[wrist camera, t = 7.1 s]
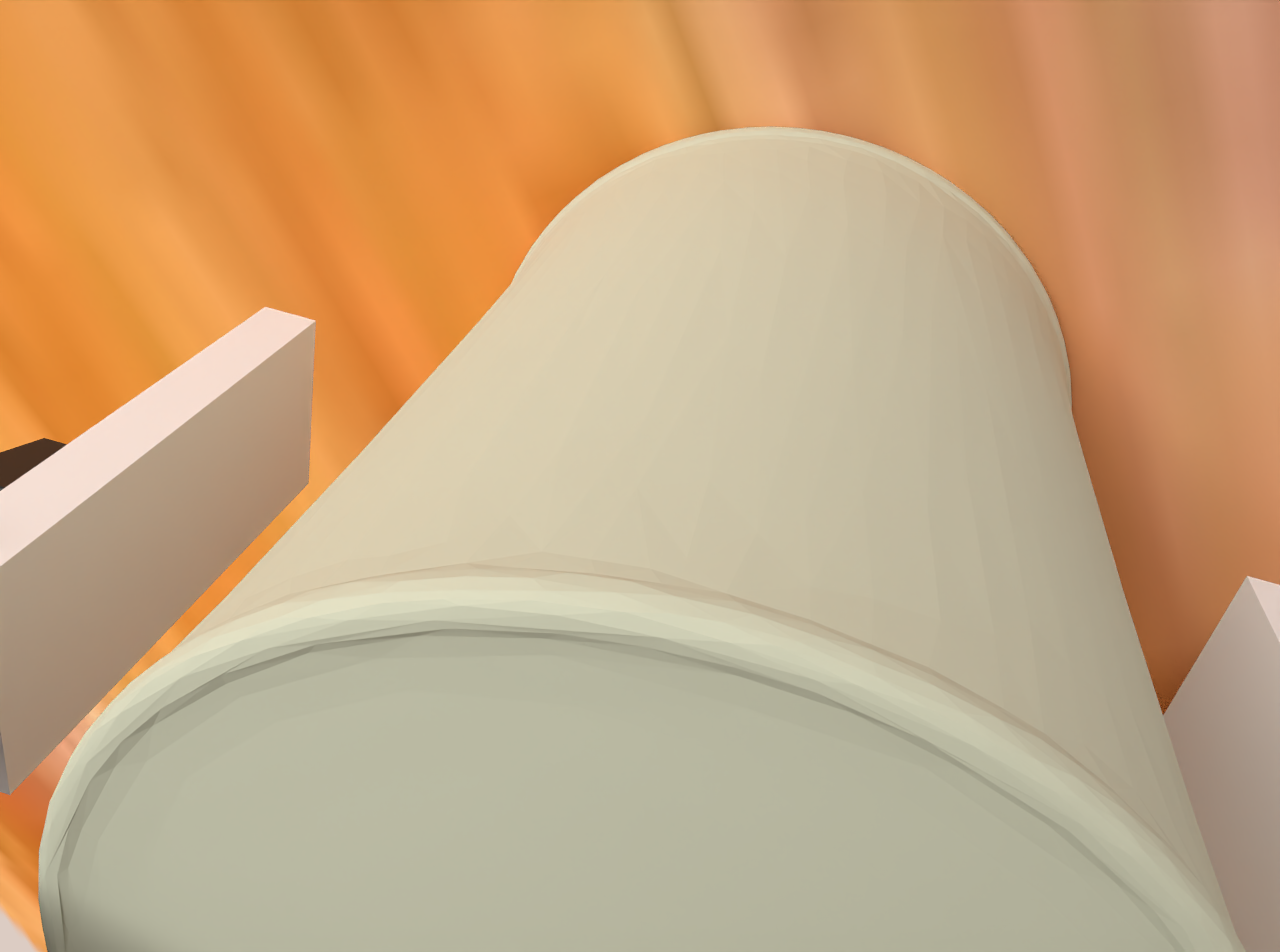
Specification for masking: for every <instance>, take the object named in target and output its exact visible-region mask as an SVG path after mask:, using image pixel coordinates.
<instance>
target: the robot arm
mask: <svg viewBox="0 0 1280 952" xmlns="http://www.w3.org/2000/svg"><path fill="white" fill-rule="evenodd" d="M315 327H316V321H315V320H311V319H308V318H304V317H300V316H297V315H293V314H289V313H286V312H282V311H278V310H275V309H271V308H268V307H264V308H263V309H261V310H260V311H259V312H257V313H256V314H254V315H253V316H251V317H250V318H249V319H247V320H246V321H244V322H243V323H241V324H240V325H238V326H237V327H236V328H234V329H233V330H231V331H230V332H228V333H227V334H225V335H224V336H223V337H221V338H220V339H218V340H217V341H215V342H214V343H213V344H211V345H210V346H208V347H207V348H205V349H204V350H202V351H201V352H200V353H198V354H197V355H195V356H194V357H192V358H191V359H190V360H188V361H187V362H185V363H184V364H182V365H181V366H179V367H178V368H177V369H175V370H174V371H172V372H171V373H169V374H168V375H167V376H165V377H164V378H162V379H161V380H159V381H158V382H156V383H155V384H154V385H152V386H151V387H149V388H148V389H146V390H145V391H144V392H142V393H141V394H139V395H138V396H136V397H135V398H133V399H132V400H131V401H129V402H128V403H126V404H125V405H123V406H122V407H121V408H119V409H118V410H116V411H115V412H113V413H112V414H110V415H109V416H108V417H106V418H105V419H103V420H102V421H100V422H99V423H97V424H96V425H95V426H93V427H92V428H90V429H89V430H87V431H86V432H85V433H83V434H82V435H80V436H79V437H77V438H76V439H74V440H73V441H72V442H70V443H69V444H63V443H60V442H56V441H53V440H49V439H46V438H43V439H40V440H37V441H34V442H31V443H28V444H25V445H22V446H19V447H16V448H13V449H10V450H7V451H4V452H1V453H0V792H3V793H6V794H9V795H10V794H11V793H12V792H13V791H14V790H15V789H16V788H17V787H18V786H19V785H20V784H21V783H22V782H23V781H24V780H25V779H26V778H27V777H28V776H29V775H30V774H31V773H32V771H33V770H34V769H35V768H36V767H37V766H38V765H39V764H40V763H41V762H42V761H43V760H44V759H45V758H46V757H47V756H48V755H49V754H50V753H51V752H52V751H53V750H54V748H55V747H56V746H57V745H58V744H59V743H60V742H61V741H62V740H63V739H64V738H65V737H66V736H67V735H68V734H69V733H70V732H71V731H72V730H73V729H74V728H75V727H76V726H77V724H78V723H79V722H80V721H81V720H82V719H83V718H84V717H85V716H86V715H87V714H88V713H89V712H90V711H91V710H92V709H93V708H94V707H95V706H96V705H97V704H98V703H99V702H100V700H101V699H102V698H103V697H104V696H105V695H106V694H107V693H108V692H109V691H110V690H111V689H112V688H113V687H114V686H115V685H116V684H117V683H118V682H119V681H120V680H121V679H122V677H123V676H124V675H125V674H126V673H127V672H128V671H129V670H130V669H131V668H132V667H133V666H134V665H135V664H136V663H137V662H138V661H139V660H140V659H141V658H142V657H143V656H144V655H145V653H146V652H147V651H148V650H149V649H150V648H151V647H152V646H153V645H154V644H155V643H156V642H157V641H158V640H159V639H160V638H161V637H162V636H163V635H164V634H165V633H166V632H167V630H168V629H169V628H170V627H171V626H172V625H173V624H174V623H175V622H176V621H177V620H178V619H179V618H180V617H181V616H182V615H183V614H184V613H185V612H186V611H187V610H188V609H189V608H190V606H191V605H192V604H193V603H194V602H195V601H196V600H197V599H198V598H199V597H200V596H201V595H202V594H203V593H204V592H205V591H206V590H207V589H208V588H209V587H210V586H211V585H212V584H213V582H214V581H215V580H216V579H217V578H218V577H219V576H220V575H221V574H222V573H223V572H224V571H225V570H226V569H227V568H228V567H229V566H230V565H231V564H232V563H233V562H234V561H235V559H236V558H237V557H238V556H239V555H240V554H241V553H242V552H243V551H244V550H245V549H246V548H247V547H248V546H249V545H250V544H251V543H252V542H253V541H254V540H255V539H256V538H257V537H258V535H259V534H260V533H261V532H262V531H263V530H264V529H265V528H266V527H267V526H268V525H269V524H270V523H271V522H272V521H273V520H274V519H275V518H276V517H277V516H278V515H279V514H280V513H281V511H282V510H283V509H284V508H285V507H286V506H287V505H288V504H289V503H290V502H291V501H292V500H293V499H294V498H295V497H296V496H297V495H298V494H299V493H300V492H301V491H302V490H303V488H304V487H305V486H306V485H307V484H308V482H309V460H310V438H311V416H312V393H313V371H314V349H315ZM1163 717H1164V720H1165V724H1166V727H1167V730H1168V733H1169V736H1170V739H1171V742H1172V745H1173V749H1174V752H1175V755H1176V758H1177V761H1178V764H1179V767H1180V770H1181V774H1182V777H1183V780H1184V783H1185V786H1186V789H1187V792H1188V795H1189V799H1190V802H1191V805H1192V808H1193V811H1194V814H1195V817H1196V820H1197V823H1198V826H1199V829H1200V832H1201V835H1202V838H1203V841H1204V843H1205V846H1206V849H1207V852H1208V855H1209V858H1210V861H1211V864H1212V866H1213V869H1214V872H1215V875H1216V878H1217V881H1218V884H1219V887H1220V889H1221V892H1222V895H1223V898H1224V901H1225V904H1226V907H1227V910H1228V912H1229V915H1230V918H1231V921H1232V924H1233V927H1234V929H1235V932H1236V934H1237V936H1238V938H1239V940H1240V941H1241V943H1242V945H1243V947H1244V948H1245V950H1246V952H1280V585H1278V584H1275V583H1271V582H1267V581H1264V580H1260V579H1256V578H1253V577H1249V576H1247V577H1246V578H1245V580H1244V582H1243V583H1242V585H1241V587H1240V588H1239V590H1238V592H1237V593H1236V595H1235V597H1234V598H1233V600H1232V602H1231V603H1230V605H1229V607H1228V608H1227V610H1226V612H1225V613H1224V615H1223V617H1222V618H1221V620H1220V622H1219V623H1218V625H1217V627H1216V628H1215V630H1214V632H1213V633H1212V635H1211V637H1210V638H1209V640H1208V642H1207V643H1206V645H1205V647H1204V648H1203V650H1202V652H1201V653H1200V655H1199V657H1198V658H1197V660H1196V662H1195V663H1194V665H1193V667H1192V668H1191V670H1190V672H1189V673H1188V675H1187V677H1186V678H1185V680H1184V682H1183V683H1182V685H1181V687H1180V688H1179V690H1178V692H1177V693H1176V695H1175V697H1174V698H1173V700H1172V702H1171V703H1170V705H1169V707H1168V708H1167V710H1166V712H1165V713H1164V715H1163Z"/></svg>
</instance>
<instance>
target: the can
mask: <svg viewBox="0 0 1280 952" xmlns="http://www.w3.org/2000/svg"><path fill="white" fill-rule="evenodd" d="M1071 410H1072V396H1071V377H1070V368H1069V362H1068V357H1067V352H1066V346H1065V341H1064V338H1063V335H1062V331H1061V328H1060V325H1059V321H1058V318H1057V316H1056V313H1055V311H1054V308H1053V306H1052V303H1051V301H1050V298H1049V296H1048V294H1047V292H1046V290H1045V288H1044V286H1043V284H1042V283H1041V281H1040V279H1039V277H1038V276H1037V274H1036V272H1035V270H1034V269H1033V267H1032V265H1031V264H1030V262H1029V261H1028V259H1027V258H1026V256H1025V255H1024V254H1023V252H1022V251H1021V250H1020V248H1019V247H1018V246H1017V244H1016V243H1015V242H1014V240H1013V239H1012V238H1011V236H1010V235H1009V234H1008V233H1007V232H1006V230H1005V229H1004V228H1003V227H1002V226H1001V225H1000V224H999V223H998V222H997V221H996V220H995V219H994V218H993V216H991V215H990V214H989V213H988V212H987V211H986V210H985V209H984V208H983V207H981V206H980V205H979V204H978V203H977V202H976V201H975V200H974V199H973V198H971V197H970V196H969V195H967V194H966V193H965V192H963V191H962V190H961V189H959V188H958V187H957V186H955V185H954V184H953V183H951V182H950V181H948V180H947V179H945V178H944V177H942V176H940V175H939V174H937V173H935V172H934V171H932V170H931V169H929V168H927V167H925V166H923V165H921V164H920V163H918V162H916V161H914V160H912V159H910V158H908V157H906V156H903V155H901V154H899V153H896V152H894V151H892V150H889V149H887V148H885V147H882V146H879V145H876V144H873V143H870V142H867V141H863V140H860V139H856V138H852V137H849V136H845V135H840V134H835V133H830V132H825V131H819V130H811V129H803V128H790V127H749V128H739V129H730V130H721V131H716V132H711V133H705V134H701V135H697V136H693V137H689V138H685V139H682V140H679V141H675V142H672V143H669V144H666V145H663V146H661V147H659V148H656V149H654V150H651V151H649V152H646V153H644V154H642V155H640V156H638V157H636V158H634V159H632V160H630V161H628V162H626V163H624V164H622V165H620V166H619V167H617V168H615V169H614V170H612V171H611V172H609V173H607V174H606V175H604V176H603V177H601V178H600V179H598V180H597V181H595V182H594V183H593V184H592V185H590V186H589V187H588V188H587V189H585V190H584V191H583V192H581V193H580V194H579V195H578V196H576V197H575V198H574V199H573V200H572V201H571V202H570V203H569V204H568V205H567V206H566V207H565V208H564V209H562V210H561V211H560V212H559V214H558V215H557V216H556V217H555V218H554V219H553V220H552V221H551V223H550V224H549V225H548V226H547V227H546V228H545V230H544V231H543V232H542V234H541V235H540V236H539V238H538V239H537V240H536V241H535V243H534V244H533V245H532V247H531V249H530V250H529V252H528V254H527V255H526V257H525V259H524V260H523V262H522V264H521V265H520V267H519V269H518V270H517V272H516V274H515V277H514V279H513V281H512V283H511V285H510V286H509V287H508V288H507V289H506V291H505V292H504V293H503V294H502V295H501V296H500V298H499V299H498V300H497V301H496V302H495V303H494V305H493V306H492V307H491V308H490V309H489V310H488V312H487V313H486V314H485V315H484V316H483V317H482V319H481V320H480V321H479V322H478V323H477V324H476V325H475V326H474V328H473V329H472V330H471V331H470V332H469V333H468V334H467V335H466V336H465V338H464V339H463V340H462V341H461V342H460V343H459V344H458V345H457V346H456V348H455V349H454V350H453V351H452V352H451V353H450V354H449V355H448V356H447V358H446V359H445V360H444V361H443V362H442V363H441V364H440V365H439V366H438V368H437V369H436V370H435V371H434V372H433V373H432V374H431V375H430V376H429V378H428V379H427V380H426V381H425V382H424V383H423V384H422V385H421V386H420V388H419V389H418V390H417V391H416V392H415V393H414V394H413V395H412V396H411V398H410V399H409V400H408V401H407V402H406V403H405V404H404V405H403V406H402V408H401V409H400V410H399V411H398V412H397V413H396V414H395V415H394V416H393V418H392V419H391V420H390V421H389V422H388V423H387V424H386V425H385V426H384V428H383V429H382V430H381V431H380V432H379V433H378V434H377V435H376V436H375V438H374V439H373V440H372V441H371V442H370V443H369V444H368V445H367V446H366V448H365V449H364V450H363V451H362V452H361V453H360V454H359V455H358V456H357V457H356V458H355V459H354V460H353V462H352V463H351V464H350V465H349V466H348V467H347V468H346V469H345V470H344V471H343V472H342V473H341V474H340V475H339V477H338V478H337V479H336V480H335V481H334V482H333V483H332V484H331V485H330V486H329V487H328V488H327V489H326V490H325V492H324V493H323V494H322V495H321V496H320V497H319V498H318V499H317V500H316V501H315V502H314V503H313V504H312V505H311V507H310V508H309V509H308V510H307V511H306V512H305V513H304V514H303V515H302V516H301V517H300V518H299V519H298V520H297V522H296V523H295V524H294V525H293V526H292V527H291V528H290V529H289V530H288V531H287V532H286V533H285V534H284V535H283V537H282V538H281V539H280V540H279V541H278V542H277V543H276V544H275V545H274V546H273V547H272V548H271V549H270V551H269V552H268V553H267V554H266V555H265V556H264V557H263V558H262V559H261V560H260V561H259V562H258V563H257V564H256V566H255V567H254V568H253V569H252V570H251V571H250V572H249V573H248V574H247V575H246V576H245V577H244V578H243V579H242V581H241V582H240V583H239V584H238V585H237V586H236V587H235V588H234V589H233V590H232V591H231V592H230V593H229V594H228V596H227V597H226V598H225V599H224V600H223V601H222V602H221V603H220V604H219V605H218V606H217V607H216V608H215V609H214V610H213V611H212V612H211V613H210V614H209V615H208V616H207V617H206V618H205V619H204V620H203V621H202V622H201V623H200V624H199V625H198V626H197V627H196V628H195V629H194V630H193V631H192V632H191V633H190V634H189V635H188V636H187V637H186V638H185V639H184V640H183V641H182V642H181V643H180V644H179V645H178V646H177V647H176V648H175V649H174V650H173V651H172V652H170V653H169V654H167V655H166V656H164V657H163V658H161V659H160V660H159V661H157V662H156V663H155V664H154V665H152V666H151V667H150V668H148V669H147V670H146V671H145V672H143V673H142V674H141V675H139V676H138V677H137V678H136V679H134V680H133V681H132V682H130V683H129V684H128V685H127V687H126V688H125V689H124V690H123V691H122V692H121V693H120V694H119V695H118V696H117V697H116V698H115V699H114V700H113V701H112V702H111V703H110V704H109V705H108V706H107V708H106V709H105V710H104V711H103V712H102V714H101V715H100V716H99V717H98V718H97V720H96V721H95V722H94V723H93V724H92V726H91V727H90V728H89V729H88V730H87V731H86V733H85V735H84V736H83V738H82V739H81V741H80V742H79V744H78V746H77V747H76V749H75V750H74V752H73V754H72V755H71V757H70V759H69V761H68V764H67V766H66V768H65V770H64V772H63V774H62V777H61V779H60V781H59V783H58V785H57V787H56V789H55V792H54V794H53V796H52V798H51V800H50V803H49V808H48V812H47V817H46V822H45V826H44V831H43V835H42V840H41V844H40V849H39V906H40V913H41V919H42V926H43V931H44V936H45V941H46V946H47V951H48V952H1246V950H1245V948H1244V947H1243V945H1242V943H1241V941H1240V940H1239V938H1238V936H1237V934H1236V932H1235V929H1234V927H1233V924H1232V921H1231V918H1230V915H1229V912H1228V910H1227V907H1226V904H1225V901H1224V898H1223V895H1222V892H1221V889H1220V887H1219V884H1218V881H1217V878H1216V875H1215V872H1214V869H1213V866H1212V864H1211V861H1210V858H1209V855H1208V852H1207V849H1206V846H1205V843H1204V841H1203V838H1202V835H1201V832H1200V829H1199V826H1198V823H1197V820H1196V817H1195V814H1194V811H1193V808H1192V805H1191V802H1190V799H1189V795H1188V792H1187V789H1186V786H1185V783H1184V780H1183V777H1182V774H1181V770H1180V767H1179V764H1178V761H1177V758H1176V755H1175V752H1174V749H1173V745H1172V742H1171V739H1170V736H1169V733H1168V730H1167V727H1166V724H1165V720H1164V717H1163V714H1162V711H1161V708H1160V705H1159V702H1158V699H1157V695H1156V692H1155V689H1154V686H1153V683H1152V680H1151V677H1150V673H1149V670H1148V667H1147V664H1146V661H1145V658H1144V655H1143V651H1142V648H1141V645H1140V642H1139V639H1138V636H1137V633H1136V629H1135V626H1134V623H1133V620H1132V617H1131V614H1130V611H1129V607H1128V604H1127V601H1126V598H1125V595H1124V591H1123V588H1122V585H1121V581H1120V578H1119V574H1118V571H1117V568H1116V564H1115V561H1114V557H1113V554H1112V551H1111V547H1110V544H1109V540H1108V537H1107V534H1106V530H1105V527H1104V523H1103V520H1102V517H1101V513H1100V510H1099V506H1098V503H1097V499H1096V496H1095V493H1094V489H1093V486H1092V482H1091V479H1090V476H1089V472H1088V469H1087V465H1086V462H1085V459H1084V455H1083V452H1082V448H1081V444H1080V441H1079V437H1078V433H1077V430H1076V426H1075V423H1074V419H1073V415H1072V411H1071Z"/></svg>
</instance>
